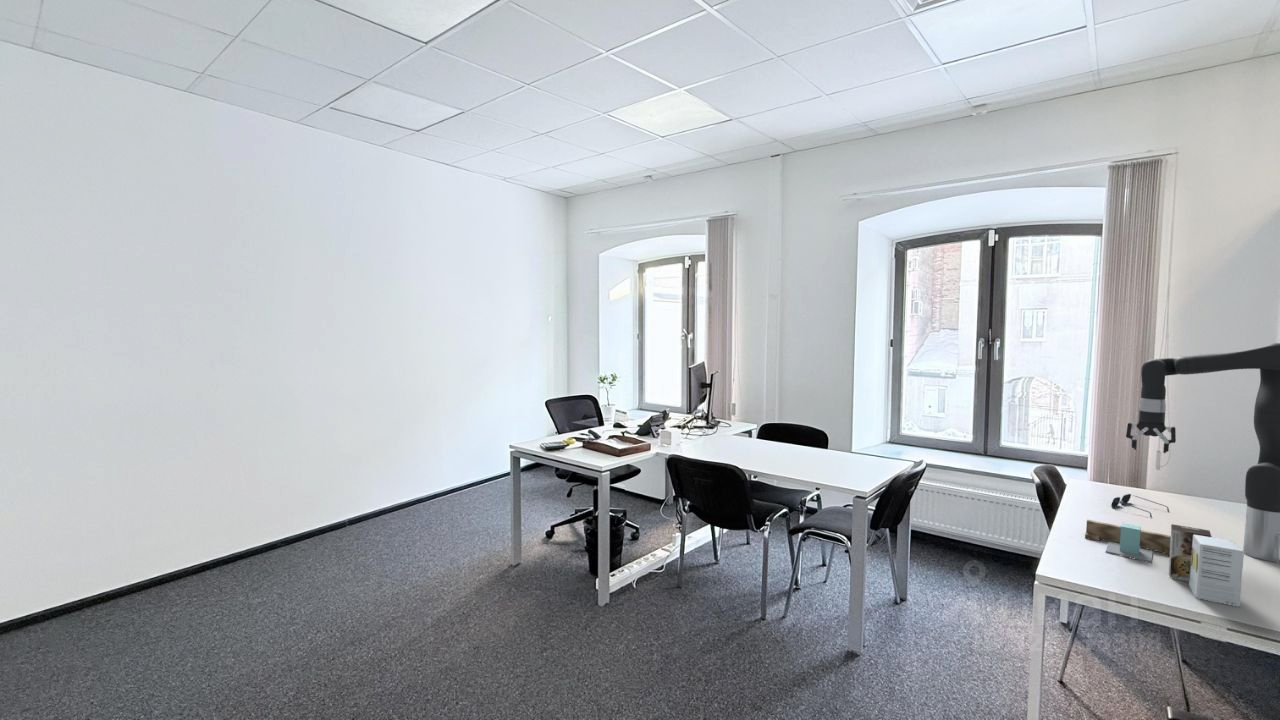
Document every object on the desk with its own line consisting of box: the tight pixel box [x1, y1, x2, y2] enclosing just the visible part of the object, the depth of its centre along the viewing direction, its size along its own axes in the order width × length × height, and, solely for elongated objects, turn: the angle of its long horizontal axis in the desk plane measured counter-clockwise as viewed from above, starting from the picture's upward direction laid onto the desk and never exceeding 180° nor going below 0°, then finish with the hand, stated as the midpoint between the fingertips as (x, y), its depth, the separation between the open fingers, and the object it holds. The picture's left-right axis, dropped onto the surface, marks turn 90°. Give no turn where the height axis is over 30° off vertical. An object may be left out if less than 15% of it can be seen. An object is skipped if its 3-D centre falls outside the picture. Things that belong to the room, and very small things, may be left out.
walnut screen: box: [1084, 519, 1171, 557], centre depth 204 cm, size 26×8×6 cm, turn 45°
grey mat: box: [1105, 541, 1154, 563], centre depth 197 cm, size 12×12×1 cm
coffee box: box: [1168, 523, 1213, 582], centre depth 177 cm, size 9×6×16 cm
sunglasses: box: [1111, 493, 1170, 518], centre depth 243 cm, size 17×15×5 cm
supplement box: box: [1188, 535, 1245, 608], centre depth 165 cm, size 10×9×17 cm
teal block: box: [1119, 522, 1142, 555], centre depth 197 cm, size 5×5×9 cm
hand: (1149, 451), depth 216 cm, fingers open, 8 cm apart
